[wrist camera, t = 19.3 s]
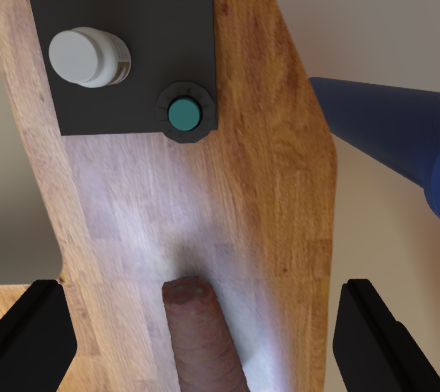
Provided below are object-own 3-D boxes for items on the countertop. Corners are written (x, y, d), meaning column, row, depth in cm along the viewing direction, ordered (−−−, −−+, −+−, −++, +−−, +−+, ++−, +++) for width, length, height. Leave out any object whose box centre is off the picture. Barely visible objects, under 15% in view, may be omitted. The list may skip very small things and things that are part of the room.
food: (250, 373, 48) (256, 438, 39) (190, 384, 48) (185, 450, 40) (212, 260, 39) (210, 312, 31) (141, 276, 40) (122, 331, 32)
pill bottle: (102, 92, 30) (67, 101, 23) (74, 48, 29) (27, 42, 22) (141, 70, 30) (117, 72, 22) (114, 23, 28) (79, 9, 21)
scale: (212, -5, 28) (212, -13, 26) (217, 135, 33) (217, 142, 31) (37, 1, 29) (18, -5, 26) (68, 141, 34) (55, 147, 31)
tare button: (199, 97, 29) (198, 98, 28) (200, 127, 30) (200, 130, 29) (169, 98, 29) (167, 100, 28) (172, 128, 31) (170, 131, 29)
